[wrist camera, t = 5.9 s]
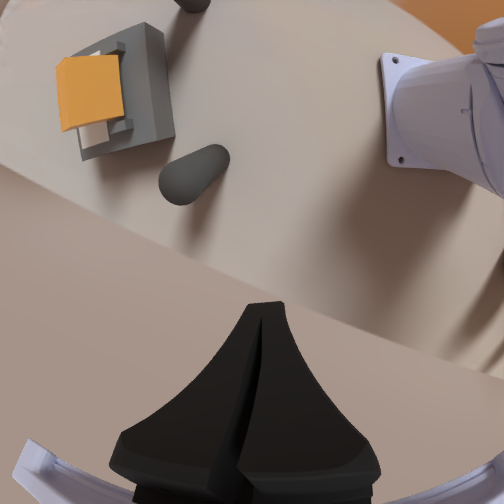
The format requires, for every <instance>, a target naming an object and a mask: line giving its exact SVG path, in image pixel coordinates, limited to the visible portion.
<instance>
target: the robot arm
mask: <svg viewBox="0 0 504 504" xmlns="http://www.w3.org/2000/svg"><path fill="white" fill-rule="evenodd" d="M475 39H476V40H475V41H474V42H473V48H474V50H475V52H476V53H475V54H469V55H463V56H458V57H453V58H448V59H444V60H439V61H435V62H432V61H428V60H424V59H419V58H414V57H409V56H404V55H399V54H393V53H384V54H382V55H381V56H380V62H381V70H382V78H383V88H384V99H385V113H386V135H387V162H388V164H389V165H391V166H392V167H405V168H424V169H438V170H448V171H450V172H452V173H454V174H456V175H459V176H461V177H463V178H465V179H467V180H469V181H471V182H473V183H475V184H477V185H479V186H481V187H483V188H485V189H486V190H488V191H490V192H492V193H494V194H496V195H497V196H499V197H501V198H503V199H504V17H501V18H499V19H495V20H493V21H490V22H488V23H485V24H483V25H481V26H479V27H478V28H477V30H476V36H475ZM392 58H395V59H396V61H397V63H396V64H395V63H394V62H393V61H392ZM399 157H402V159H403V160H402V162H401V163H399V161H398V159H399ZM109 467H110V468H111V469H112V470H113V471H114V472H116V473H117V474H119V475H121V476H123V477H124V478H126V479H128V480H130V481H131V482H133V483H136V484H137V486H136V489H135V492H133V491H130V490H127V489H124V488H122V487H119V486H116V485H114V484H111V483H109V482H106V481H104V480H102V479H99V478H97V477H95V476H93V475H91V474H88V473H86V472H84V471H82V470H80V469H78V468H76V467H74V466H72V465H70V464H69V463H67V462H65V461H63V460H61V459H59V458H58V457H56V455H54V454H53V453H51V452H50V451H49V450H47V449H46V448H44V447H43V446H41V445H40V444H38V443H36V442H35V441H33V440H32V439H30V438H29V439H28V441H27V443H26V445H25V447H24V449H23V451H22V453H21V455H20V458H19V460H18V462H17V464H16V466H15V469H14V471H13V473H12V477H13V478H14V479H15V480H16V481H17V482H18V483H20V484H21V485H22V486H23V487H24V488H25V489H26V490H27V491H28V492H30V494H31V495H32V496H33V497H35V498H36V499H37V500H38V501H39V502H40V503H41V504H371V497H372V496H373V489H372V484H373V483H374V482H375V481H376V480H378V478H379V477H380V475H381V469H380V465H379V462H378V460H377V457H376V455H375V453H374V451H373V449H372V447H371V445H370V443H369V441H368V440H367V439H366V438H365V437H364V436H363V435H362V434H361V433H360V432H359V431H358V430H357V429H356V428H355V427H354V426H353V425H352V424H351V423H350V422H349V421H348V420H347V419H346V417H345V416H344V415H343V414H342V413H341V412H340V411H339V410H338V408H337V407H336V406H335V405H334V403H333V402H332V401H331V399H330V398H329V397H328V396H327V394H326V393H325V392H324V391H323V389H322V388H321V386H320V385H319V383H318V382H317V380H316V379H315V377H314V376H313V374H312V372H311V371H310V369H309V368H308V366H307V364H306V362H305V361H304V359H303V357H302V355H301V353H300V351H299V349H298V347H297V345H296V343H295V340H294V338H293V336H292V333H291V331H290V328H289V325H288V322H287V319H286V314H285V306H284V303H283V302H282V301H276V302H265V303H253V304H248V305H247V306H246V308H245V310H244V312H243V314H242V316H241V317H240V319H239V321H238V322H237V324H236V326H235V327H234V329H233V330H232V332H231V334H230V335H229V336H228V338H227V340H226V341H225V342H224V344H223V345H222V347H221V348H220V349H219V351H218V352H217V353H216V355H215V356H214V357H213V359H212V360H211V361H210V362H209V364H208V365H207V366H206V367H205V368H204V369H203V370H202V371H201V373H200V374H199V375H198V376H197V377H196V378H195V379H194V380H193V381H192V382H191V383H190V384H189V385H188V386H187V387H186V388H184V389H183V390H182V391H181V392H180V393H179V394H178V395H177V396H176V397H174V398H173V399H172V400H171V401H169V402H168V403H167V404H165V405H164V406H163V407H162V408H160V409H159V410H157V411H156V412H155V413H153V414H152V415H150V416H149V417H148V418H146V419H144V420H143V421H141V422H139V423H137V424H136V425H134V426H132V427H130V428H128V429H127V430H125V431H123V432H121V434H120V436H119V438H118V441H117V443H116V446H115V449H114V451H113V454H112V457H111V459H110V462H109ZM384 504H504V451H503V452H501V453H500V454H498V455H497V456H496V457H495V458H494V459H493V460H491V461H489V462H488V463H486V464H484V465H482V466H480V467H479V468H477V469H475V470H473V471H471V472H469V473H467V474H465V475H463V476H460V477H458V478H456V479H454V480H451V481H449V482H447V483H444V484H442V485H440V486H437V487H435V488H432V489H429V490H426V491H424V492H421V493H418V494H415V495H412V496H409V497H406V498H402V499H399V500H395V501H392V502H388V503H384Z"/></svg>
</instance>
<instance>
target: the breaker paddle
mask: <svg viewBox="0 0 504 504" xmlns="http://www.w3.org/2000/svg"><path fill="white" fill-rule="evenodd" d="M56 78H57V93H58V104H59V114H60V122H61V129H62V132H65V131H68V130H72V129H76V128H80V127H84V126H88V125H92V124H96V123H100V122H105V121H110V120H114V119H116V118H119V117H121V116H124V110H123V103H122V94H121V85H120V75H119V63H118V55H93V56H78V57H67V58H64V59H63V60H62V61H61V62H60V63H59V64H58V65H57V66H56Z"/></svg>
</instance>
